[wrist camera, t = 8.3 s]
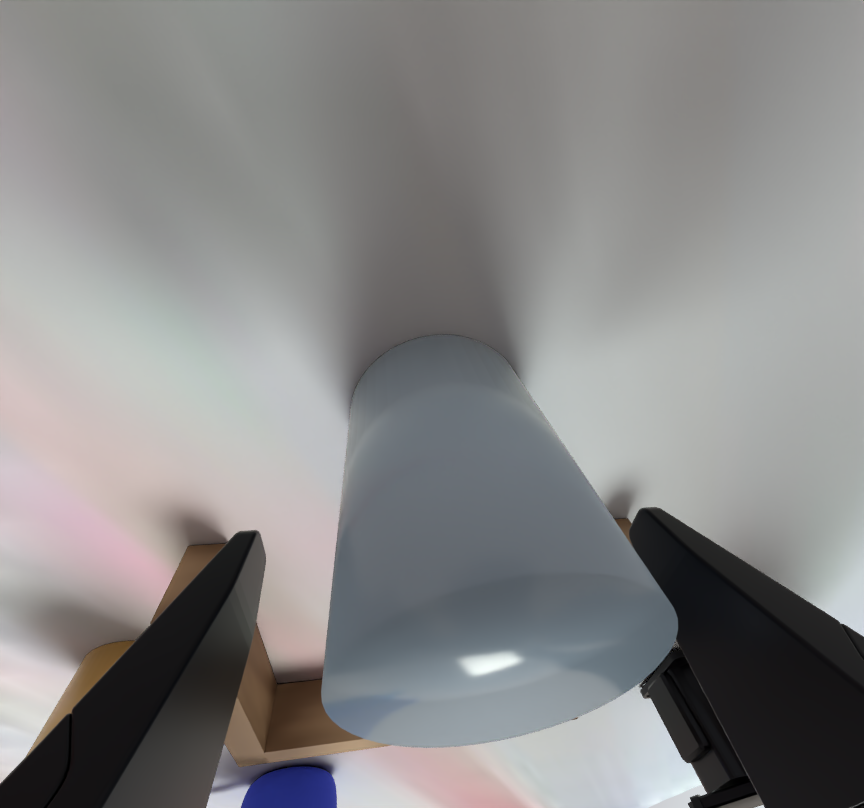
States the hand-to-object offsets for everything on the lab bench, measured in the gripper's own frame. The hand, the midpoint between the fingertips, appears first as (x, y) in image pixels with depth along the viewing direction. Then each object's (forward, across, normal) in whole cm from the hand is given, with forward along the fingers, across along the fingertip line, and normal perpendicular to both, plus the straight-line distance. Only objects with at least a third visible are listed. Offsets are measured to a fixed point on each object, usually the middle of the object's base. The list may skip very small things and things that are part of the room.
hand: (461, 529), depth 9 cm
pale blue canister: (+5, 0, +1) cm, 5 cm away
